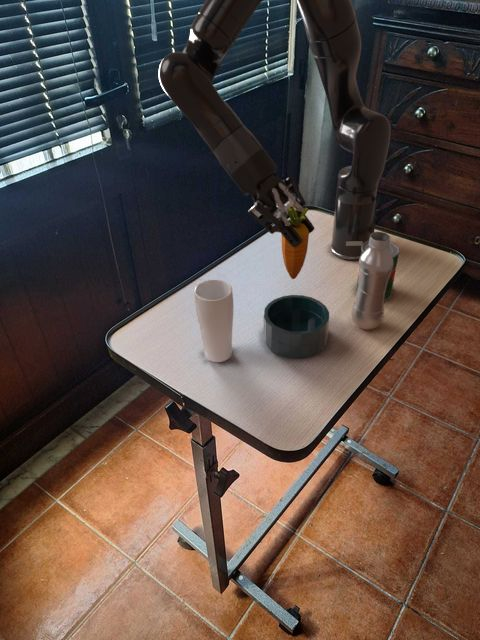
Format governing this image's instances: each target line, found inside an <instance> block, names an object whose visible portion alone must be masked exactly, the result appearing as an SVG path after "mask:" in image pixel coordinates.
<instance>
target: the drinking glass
mask: <svg viewBox="0 0 480 640" xmlns="http://www.w3.org/2000/svg"><path fill="white" fill-rule="evenodd" d="M193 292H194V307H195V312H196V318H197V322H198V326H199V331H200V336H201V341H202V346H203V354H204V357H205V359H206V360H208V361H210V362H213V363H222V362H225V361H226V362H227V360H229V359H230V358H231V357H232V355H233V330H234V329H233V327H234V311H235V310H234V308H235V306H234V292H233V287H232V285H231V284H230V283H229V282H227V281H224V280H222V279H209V280H205V281H202V282H200V283H198V284H197V285H196V287H195V288H194V291H193Z"/></svg>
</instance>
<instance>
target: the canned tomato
mask: <svg viewBox="0 0 480 640" xmlns="http://www.w3.org/2000/svg"><path fill="white" fill-rule="evenodd" d="M368 243H369V241H366V242H365V243H363V245H362V247H361V255H362V253H363V252H364V251H365V250H366V249H367V248H368V247H369V245H368ZM389 243H390V246H389V248H388V250H389V252H390V254H391V256H392V258H393V268H392V271H391V274H390V277H389V279H388V282H387V286H386V290H385V296H384V302H385V301H387V300H389V299H390V298H391V296H392V292H393V287H394V282H395V276H396V270H397V266H398V265H397V264H398V260H399V254H400V248H399V246H398V245H397V244H396V243H394V242H392V241H390V242H389ZM358 285H359V271H358V272H357V279H356V287H355V293H356V294H357V291H358Z"/></svg>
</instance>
